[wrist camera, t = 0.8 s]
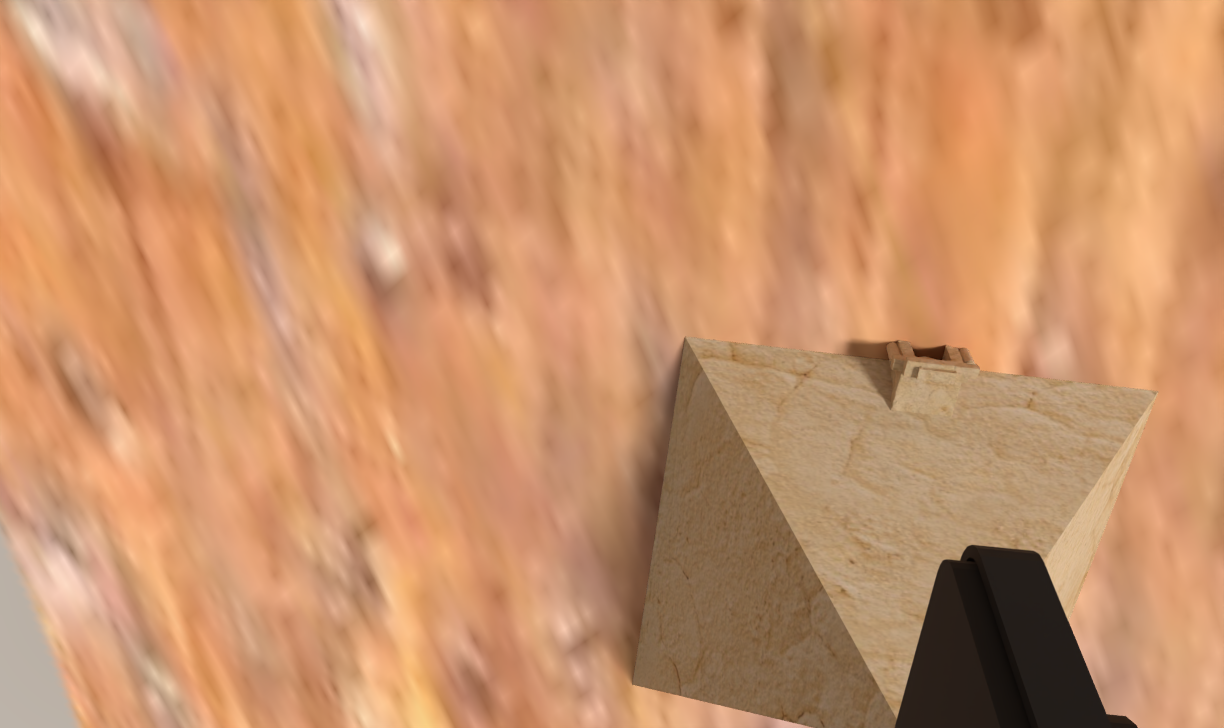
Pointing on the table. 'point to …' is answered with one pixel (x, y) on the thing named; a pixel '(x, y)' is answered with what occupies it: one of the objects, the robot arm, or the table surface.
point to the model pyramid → (857, 515)
